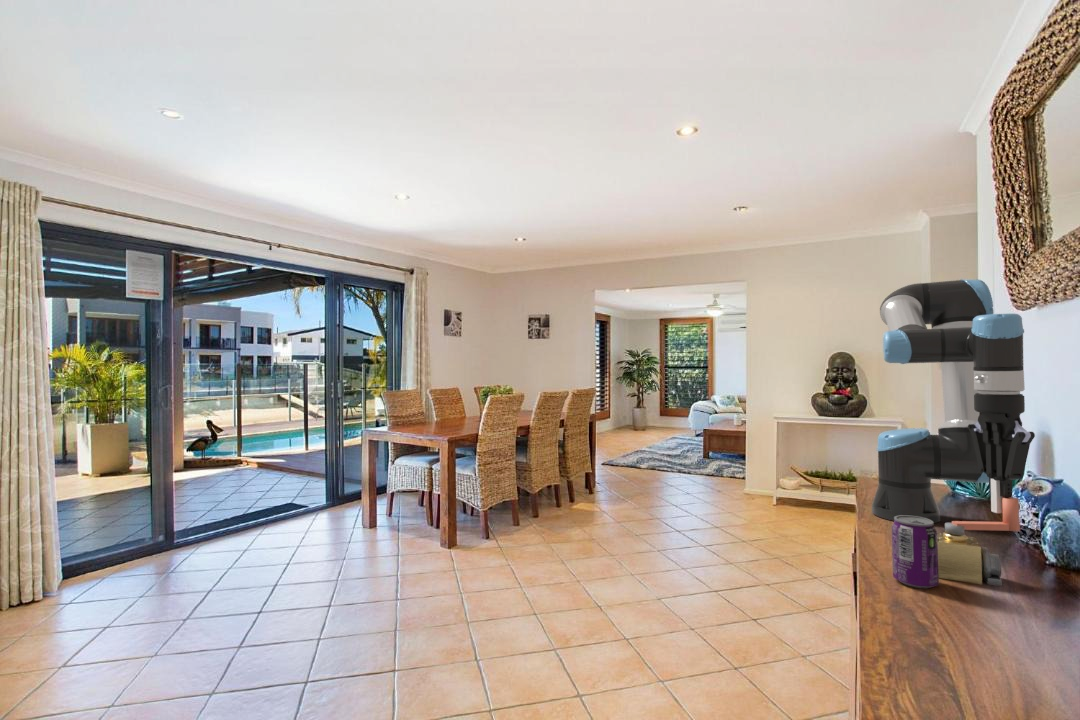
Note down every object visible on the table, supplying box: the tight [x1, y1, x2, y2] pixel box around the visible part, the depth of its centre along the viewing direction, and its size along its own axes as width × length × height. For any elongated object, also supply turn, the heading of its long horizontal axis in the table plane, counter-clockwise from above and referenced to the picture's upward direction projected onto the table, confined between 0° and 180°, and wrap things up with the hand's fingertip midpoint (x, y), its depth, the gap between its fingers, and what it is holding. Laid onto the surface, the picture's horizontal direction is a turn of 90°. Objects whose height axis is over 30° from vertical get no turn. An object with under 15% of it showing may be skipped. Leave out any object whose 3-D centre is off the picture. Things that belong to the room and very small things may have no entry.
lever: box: [944, 496, 1021, 535], centre depth 102 cm, size 13×3×7 cm, turn 82°
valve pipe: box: [937, 531, 1003, 587], centre depth 103 cm, size 6×13×8 cm, turn 58°
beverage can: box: [891, 515, 940, 589], centre depth 100 cm, size 7×7×12 cm
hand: (1001, 512), depth 104 cm, fingers closed
